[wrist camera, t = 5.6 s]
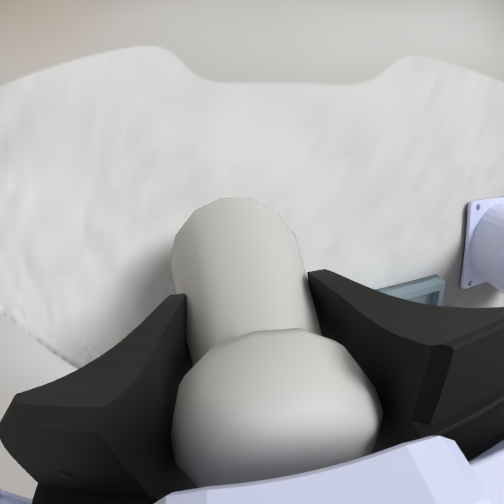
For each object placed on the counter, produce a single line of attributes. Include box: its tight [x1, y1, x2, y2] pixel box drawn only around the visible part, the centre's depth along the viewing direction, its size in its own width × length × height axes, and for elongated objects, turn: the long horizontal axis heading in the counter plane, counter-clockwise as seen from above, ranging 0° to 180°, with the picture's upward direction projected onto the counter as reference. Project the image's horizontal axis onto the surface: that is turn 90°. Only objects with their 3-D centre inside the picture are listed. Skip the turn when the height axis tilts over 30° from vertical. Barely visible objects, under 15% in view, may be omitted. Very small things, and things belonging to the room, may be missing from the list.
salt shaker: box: [170, 198, 383, 488], centre depth 11 cm, size 6×6×13 cm
